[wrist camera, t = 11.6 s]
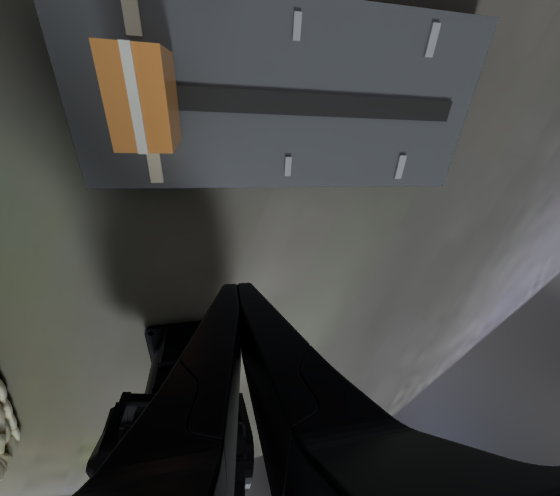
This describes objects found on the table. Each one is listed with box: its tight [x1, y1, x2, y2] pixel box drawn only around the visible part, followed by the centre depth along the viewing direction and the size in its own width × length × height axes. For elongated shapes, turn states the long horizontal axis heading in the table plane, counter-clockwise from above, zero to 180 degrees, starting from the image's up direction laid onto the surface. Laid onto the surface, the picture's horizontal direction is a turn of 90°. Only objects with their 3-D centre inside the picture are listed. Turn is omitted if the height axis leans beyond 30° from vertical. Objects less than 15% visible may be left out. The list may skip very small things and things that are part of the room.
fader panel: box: [33, 0, 499, 189], centre depth 18 cm, size 10×24×2 cm, turn 87°
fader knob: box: [89, 38, 182, 154], centre depth 13 cm, size 4×2×4 cm, turn 177°
